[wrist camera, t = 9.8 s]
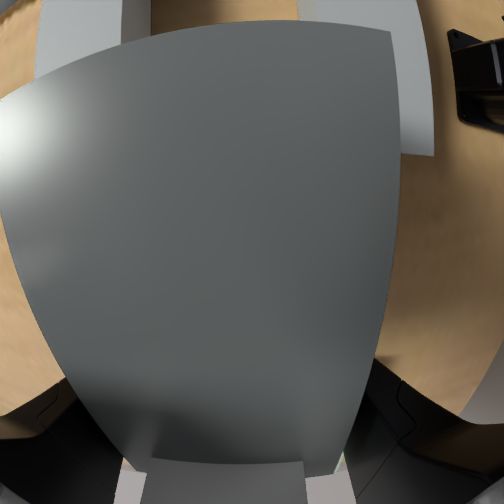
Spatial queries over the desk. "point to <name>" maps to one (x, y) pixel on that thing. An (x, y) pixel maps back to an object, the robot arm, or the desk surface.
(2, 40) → the desk surface
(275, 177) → the grey block with handle
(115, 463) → the robot arm
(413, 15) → the bay housing
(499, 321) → the desk surface
